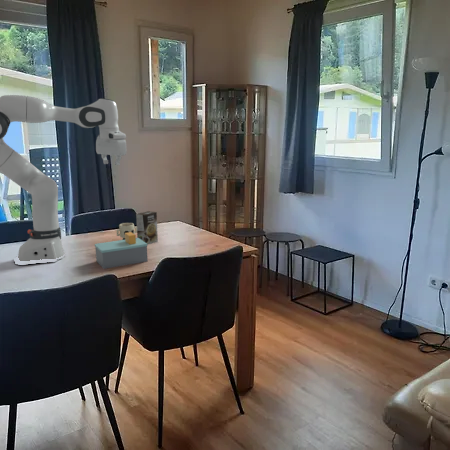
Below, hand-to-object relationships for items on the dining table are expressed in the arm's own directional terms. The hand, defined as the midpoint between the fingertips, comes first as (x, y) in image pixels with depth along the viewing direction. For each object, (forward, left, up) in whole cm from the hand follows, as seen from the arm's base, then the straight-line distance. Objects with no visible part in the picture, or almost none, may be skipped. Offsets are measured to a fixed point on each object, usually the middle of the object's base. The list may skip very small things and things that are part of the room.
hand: (111, 164), depth 210 cm
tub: (-4, -20, -43) cm, 47 cm away
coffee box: (+18, +6, -43) cm, 47 cm away
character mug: (+5, -1, -43) cm, 43 cm away
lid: (-4, -20, -36) cm, 41 cm away
